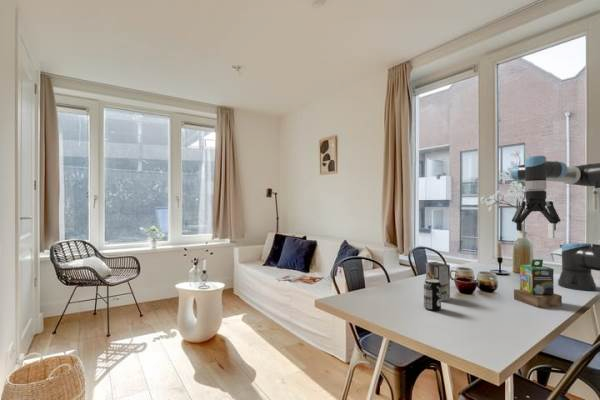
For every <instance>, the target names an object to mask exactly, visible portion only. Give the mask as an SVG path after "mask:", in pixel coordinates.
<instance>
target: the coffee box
mask: <svg viewBox="0 0 600 400" xmlns="http://www.w3.org/2000/svg"><path fill="white" fill-rule="evenodd" d="M450 269H451V267H450V264H445V263H441V262H438V261H431V262H430V261H429V262H425V271H426V272H425V277H426V278H425V279H437V280H439V281H440V284H441V302H447V301H451V279H450V278H451V277H450V275H451V273H450V272H451V270H450Z"/></svg>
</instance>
